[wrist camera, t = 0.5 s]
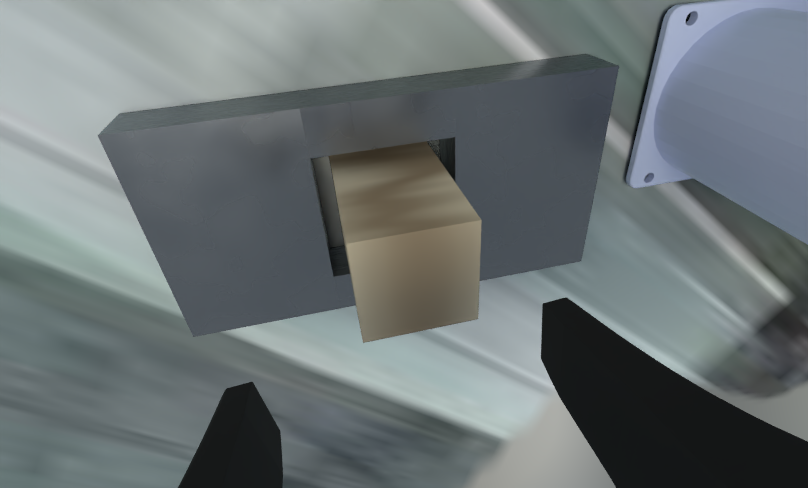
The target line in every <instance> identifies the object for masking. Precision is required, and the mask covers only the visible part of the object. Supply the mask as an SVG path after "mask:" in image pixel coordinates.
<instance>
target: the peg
mask: <svg viewBox="0 0 808 488" xmlns="http://www.w3.org/2000/svg"><path fill="white" fill-rule="evenodd" d="M329 159H330V165H331V171H332V176H333V182H334V188H335V194H336V199H337V205H338V211H339V216H340V222H341V228H342V233H343V239H344V244H345V249H346V255H347V260H348V265H349V270H350V276H351V281H352V286H353V292H354V297H355V302H356V307H357V313H358V318H359V323H360V329H361V334H362V339H363V343H365V342H370V341H375V340H379V339H384V338H389V337H394V336H399V335H403V334H408V333H413V332H418V331H423V330H428V329H432V328H437V327H442V326H447V325H452V324H456V323H461V322H466V321H471V320H476V319H478V307H479V279H480V250H481V221H482V220H481V219H480V217H479V216H478V214H477V213H476V211H475V210H474V209H473V207H472V206H471V204H470V203H469V201H468V200H467V199H466V197H465V196H464V194H463V193H462V191H461V190H460V189H459V187H458V186H457V184H456V183H455V181H454V180H453V179H452V177H451V176H450V174H449V173H448V171H447V170H446V169H445V167H444V166H443V164H442V163H441V161H440V160H439V159H438V157H437V156H436V154H435V153H434V151H433V150H432V149H431V147H430V146H429V144H428V143H427V141H425V142H418V143H412V144H405V145H398V146H392V147H385V148H378V149H371V150H365V151H358V152H351V153H345V154H338V155H331V156H329Z"/></svg>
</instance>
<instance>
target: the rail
mask: <svg viewBox="0 0 808 488" xmlns="http://www.w3.org/2000/svg"><path fill="white" fill-rule="evenodd" d="M618 69H619V66H618V65H615V64H613V63H610V62H607V61H604V60H602V59H599V58H596V57H594V56H591V55H588V54H583V55H575V56H567V57H559V58H552V59H544V60H536V61H528V62H520V63H513V64H505V65H497V66H489V67H481V68H473V69H466V70H458V71H450V72H442V73H434V74H427V75H419V76H411V77H403V78H395V79H388V80H380V81H372V82H364V83H356V84H348V85H341V86H333V87H325V88H317V89H309V90H302V91H294V92H286V93H278V94H270V95H263V96H255V97H247V98H239V99H231V100H223V101H216V102H208V103H200V104H192V105H184V106H177V107H169V108H161V109H153V110H145V111H138V112H130V113H122V114H118V116H117V117H116V118H115V119H114V120H113V121H112V122H111V123H110V124H109V125H108V126H107V127H106V128H105V129H104V130H103V131H102V132H101V133H100V134H99V135H98V137H99V139H100V141H101V143H102V145H103V147H104V150H105V152H106V154H107V156H108V158H109V160H110V162H111V164H112V166H113V168H114V171H115V173H116V175H117V177H118V179H119V181H120V183H121V185H122V187H123V189H124V192H125V194H126V196H127V198H128V200H129V202H130V204H131V206H132V208H133V211H134V213H135V215H136V217H137V219H138V221H139V223H140V225H141V227H142V229H143V232H144V234H145V236H146V238H147V240H148V242H149V244H150V246H151V248H152V250H153V253H154V255H155V257H156V259H157V261H158V263H159V265H160V267H161V269H162V272H163V274H164V276H165V278H166V280H167V282H168V284H169V286H170V288H171V290H172V293H173V295H174V297H175V299H176V301H177V303H178V305H179V307H180V309H181V311H182V314H183V316H184V318H185V320H186V322H187V324H188V326H189V328H190V330H191V333H192V335H193V337H195V336H200V335H206V334H211V333H216V332H221V331H226V330H231V329H236V328H241V327H246V326H252V325H257V324H262V323H267V322H272V321H277V320H282V319H287V318H292V317H298V316H303V315H308V314H313V313H318V312H323V311H328V310H333V309H338V308H344V307H349V306H354V305H356V302H355V297H354V292H353V286H352V281H351V276H350V270H349V265H348V260H347V255H346V249H345V246H339V247H334V248H330V247H329V242H328V237H327V232H326V227H325V222H324V217H323V212H322V207H321V202H320V197H319V192H318V187H317V182H316V177H315V172H314V167H313V162H312V158H318V157H324V156H331V155H338V154H345V153H351V152H358V151H365V150H371V149H378V148H385V147H392V146H398V145H405V144H412V143H418V142H425V141H432V140H439V139H440V161H441V163H442V164H443V166H444V167H445V169H446V170H447V171H448V173H449V174H450V176H451V177H452V179H453V180H454V181H455V183H456V184H457V186H458V187H459V189H460V190H461V191H462V193H463V194H464V196H465V197H466V199H467V200H468V201H469V203H470V204H471V206H472V207H473V209H474V210H475V211H476V213H477V214H478V216H479V217H480V219H481V220H482V221H481V250H480V279H479V281H482V280H487V279H492V278H497V277H502V276H507V275H512V274H517V273H523V272H528V271H533V270H538V269H543V268H548V267H553V266H558V265H563V264H569V263H574V262H579V261H581V259H582V254H583V249H584V244H585V239H586V234H587V229H588V223H589V218H590V213H591V208H592V203H593V198H594V193H595V187H596V182H597V177H598V172H599V167H600V162H601V157H602V151H603V146H604V141H605V136H606V131H607V126H608V121H609V115H610V110H611V105H612V100H613V95H614V90H615V84H616V79H617V74H618Z"/></svg>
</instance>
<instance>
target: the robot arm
mask: <svg viewBox="0 0 808 488" xmlns="http://www.w3.org/2000/svg"><path fill="white" fill-rule="evenodd" d="M690 12H691V16H690V18H689V20H688V21H687V22H686V17H687V15H688V14H689V13H690ZM647 174H648V176H647V177H646V178H645V176H646V175H647ZM644 178H645V179H644ZM692 178H694V179H695V180H697V181H699V182H701V183H702V184H704V185H706V186H707V187H709V188H711V189H713V190H714V191H716V192H718V193H720V194H721V195H723V196H725V197H726V198H728V199H730V200H732V201H733V202H735V203H737V204H738V205H740V206H742V207H744V208H745V209H747V210H749V211H751V212H752V213H754V214H756V215H757V216H759V217H761V218H763V219H764V220H766V221H768V222H770V223H771V224H773V225H775V226H776V227H778V228H780V229H782V230H783V231H785V232H787V233H789V234H790V235H792V236H794V237H795V238H797V239H799V240H801V241H802V242H804V243H806V244H808V0H713V1H705V2H696V3H687V4H679V5H675V6H673V7H672V8H670V9H669V10H668V11H667V13H666V14H665V17H664V19H663V23H662V27H661V31H660V36H659V40H658V44H657V48H656V53H655V57H654V61H653V66H652V70H651V74H650V78H649V83H648V87H647V91H646V95H645V100H644V104H643V108H642V112H641V117H640V121H639V125H638V129H637V134H636V138H635V142H634V146H633V151H632V155H631V159H630V164H629V168H628V172H627V176H626V182H627V184H628V185H629V186H631V187H632V188H641V187H647V186H652V185H658V184H664V183H670V182H675V181H681V180H687V179H692ZM541 359H542V361H543V364H544V366H545V368H546V370H547V372H548V374H549V377H550V379H551V381H552V383H553V385H554V387H555V389H556V391H557V393H558V395H559V397H560V398H561V400H562V402H563V403H564V405H565V406H566V408H567V410H568V411H569V413H570V414H571V416H572V418H573V419H574V421H575V422H576V424H577V426H578V427H579V429H580V430H581V432H582V433H583V435H584V437H585V438H586V440H587V441H588V443H589V445H590V446H591V448H592V449H593V451H594V452H595V454H596V456H597V457H598V459H599V460H600V462H601V464H602V465H603V467H604V468H605V470H606V471H607V473H608V475H609V476H610V478H611V479H612V481H613V483H614V485H615V486H616V488H808V442H807V441H805V440H803V439H801V438H799V437H796V436H794V435H792V434H790V433H788V432H785V431H783V430H781V429H779V428H776V427H774V426H772V425H770V424H768V423H766V422H764V421H762V420H760V419H758V418H756V417H754V416H752V415H750V414H748V413H746V412H744V411H743V410H741V409H739V408H737V407H735V406H733V405H731V404H729V403H728V402H726V401H724V400H722V399H720V398H718V397H716V396H715V395H713V394H711V393H709V392H708V391H706V390H704V389H702V388H701V387H699V386H697V385H696V384H694V383H692V382H691V381H689V380H687V379H686V378H684V377H682V376H681V375H679V374H677V373H676V372H674V371H672V370H671V369H669V368H668V367H666V366H665V365H663V364H661V363H660V362H658V361H657V360H655V359H654V358H652V357H651V356H649V355H648V354H646V353H645V352H643V351H642V350H640V349H639V348H637V347H636V346H634V345H633V344H631V343H630V342H628V341H627V340H625V339H624V338H622V337H621V336H619V335H618V334H617V333H615V332H614V331H612V330H611V329H610V328H608V327H607V326H605V325H604V324H603V323H601V322H600V321H598V320H597V319H596V318H594V317H593V316H591V315H590V314H589V313H587V312H586V311H585V310H583V309H582V308H580V307H579V306H578V305H576V304H575V303H574V302H572V301H571V300H569V299H568V298H562V299H558V300H554V301H551V302H547V303H543V311H542V344H541ZM282 483H283V467H282V449H281V435H280V430H279V428H278V426H277V424H276V423H275V421H274V419H273V417H272V415H271V414H270V412H269V410H268V408H267V407H266V405H265V403H264V401H263V399H262V398H261V396H260V394H259V392H258V391H257V389H256V387H255V385H254V383H253V382H249V383H246V384H242V385H238V386H234V387H231V388H227V389H226V390H225V392H224V393H223V396H222V398H221V400H220V402H219V404H218V407H217V409H216V411H215V413H214V415H213V417H212V420H211V422H210V424H209V426H208V428H207V430H206V433H205V435H204V437H203V439H202V441H201V443H200V445H199V447H198V449H197V451H196V453H195V455H194V457H193V459H192V461H191V463H190V465H189V467H188V469H187V471H186V473H185V475H184V477H183V479H182V481H181V483H180V485H179V487H178V488H282Z"/></svg>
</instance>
